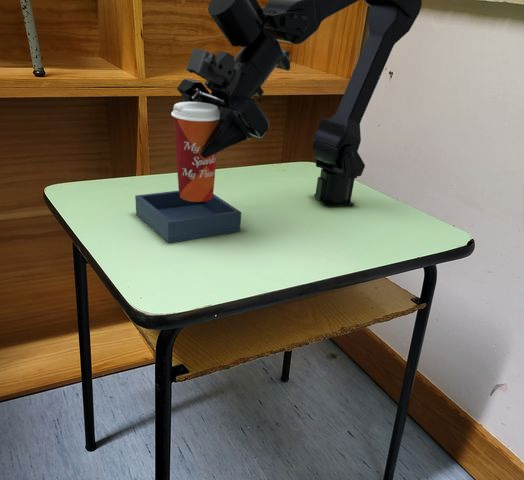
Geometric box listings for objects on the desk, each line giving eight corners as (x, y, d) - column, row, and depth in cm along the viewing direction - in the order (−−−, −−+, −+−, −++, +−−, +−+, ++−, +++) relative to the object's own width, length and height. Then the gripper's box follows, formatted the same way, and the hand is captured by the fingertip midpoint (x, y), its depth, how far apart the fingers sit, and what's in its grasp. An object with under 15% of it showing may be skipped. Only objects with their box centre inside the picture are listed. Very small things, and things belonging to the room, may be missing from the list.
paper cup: (187, 207, 85) (187, 113, 77) (164, 192, 90) (161, 102, 82) (228, 200, 89) (232, 109, 81) (204, 186, 94) (205, 99, 86)
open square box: (203, 205, 102) (204, 187, 100) (240, 231, 93) (241, 211, 91) (136, 214, 95) (135, 195, 93) (168, 243, 86) (167, 222, 84)
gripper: (187, 21, 84) (126, 101, 84) (258, 35, 72) (187, 128, 72) (227, 75, 92) (172, 148, 93) (296, 96, 80) (233, 179, 81)
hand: (189, 149), depth 84 cm, fingers closed on paper cup, 7 cm apart
